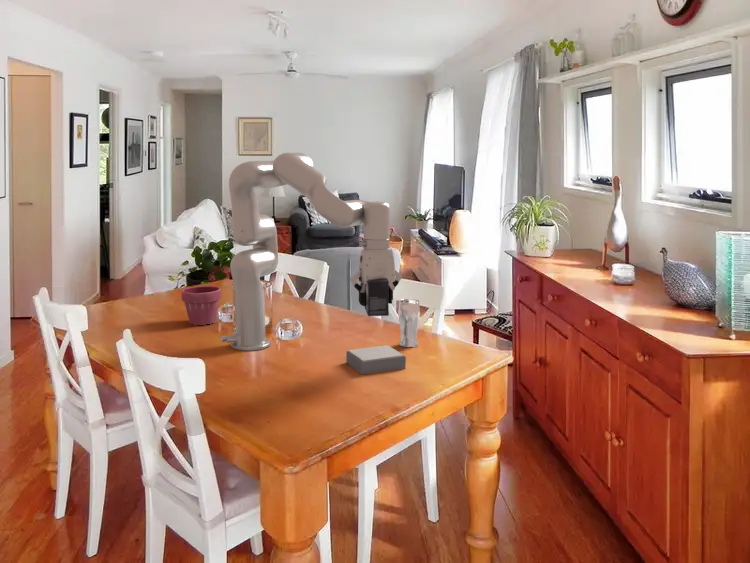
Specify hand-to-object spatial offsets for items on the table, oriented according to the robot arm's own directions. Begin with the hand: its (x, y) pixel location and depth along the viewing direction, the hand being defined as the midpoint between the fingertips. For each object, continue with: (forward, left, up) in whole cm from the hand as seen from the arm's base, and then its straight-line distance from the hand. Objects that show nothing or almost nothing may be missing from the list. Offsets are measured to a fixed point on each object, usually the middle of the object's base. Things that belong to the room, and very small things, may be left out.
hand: (375, 303), depth 195 cm
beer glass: (+19, +15, -19) cm, 31 cm away
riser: (0, 0, -19) cm, 19 cm away
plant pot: (-38, +71, -19) cm, 83 cm away
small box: (0, 0, -3) cm, 3 cm away
